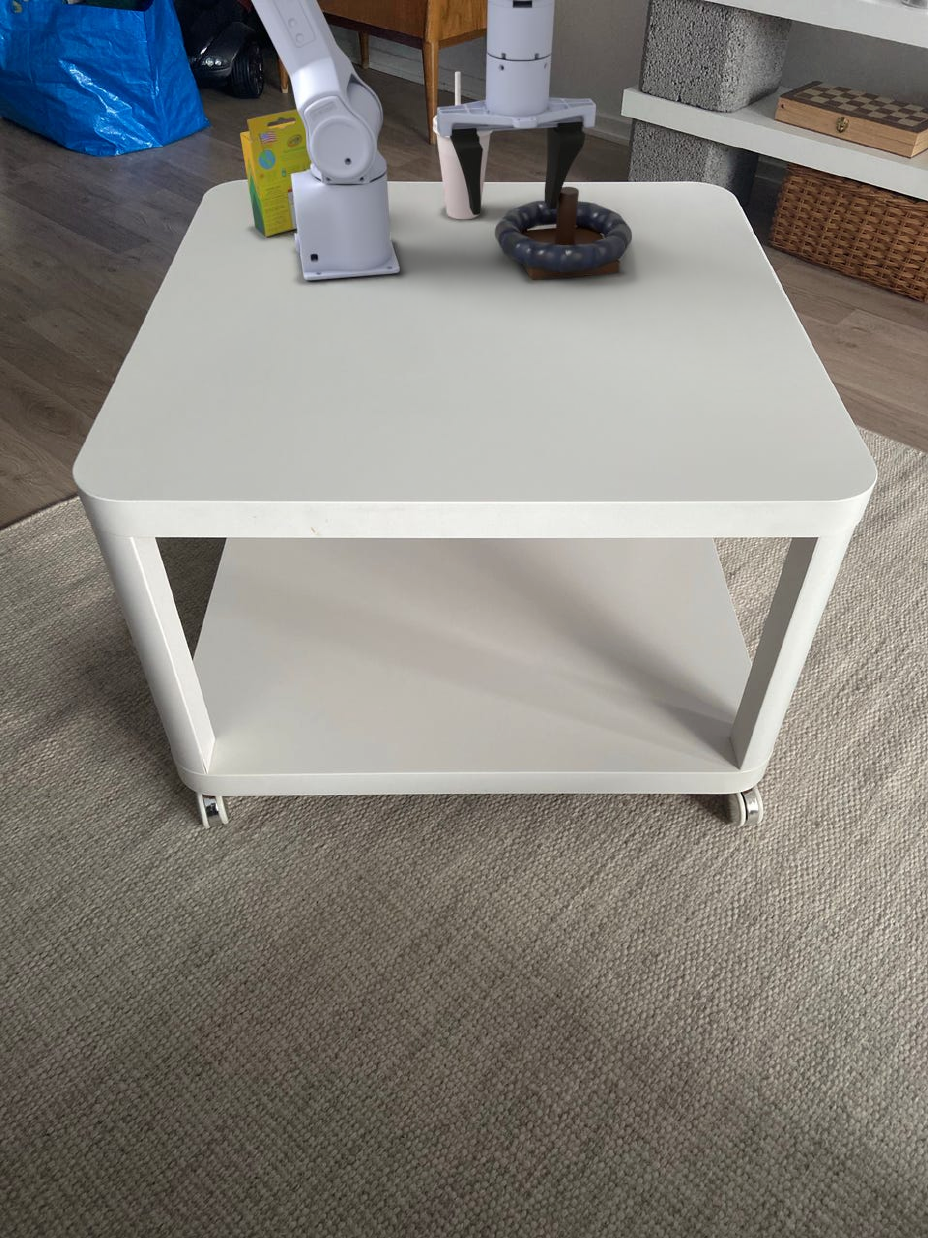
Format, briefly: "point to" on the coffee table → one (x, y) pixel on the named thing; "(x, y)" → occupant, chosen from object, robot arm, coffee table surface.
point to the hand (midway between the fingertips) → (512, 207)
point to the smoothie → (458, 167)
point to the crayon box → (274, 169)
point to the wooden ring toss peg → (567, 237)
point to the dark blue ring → (563, 255)
